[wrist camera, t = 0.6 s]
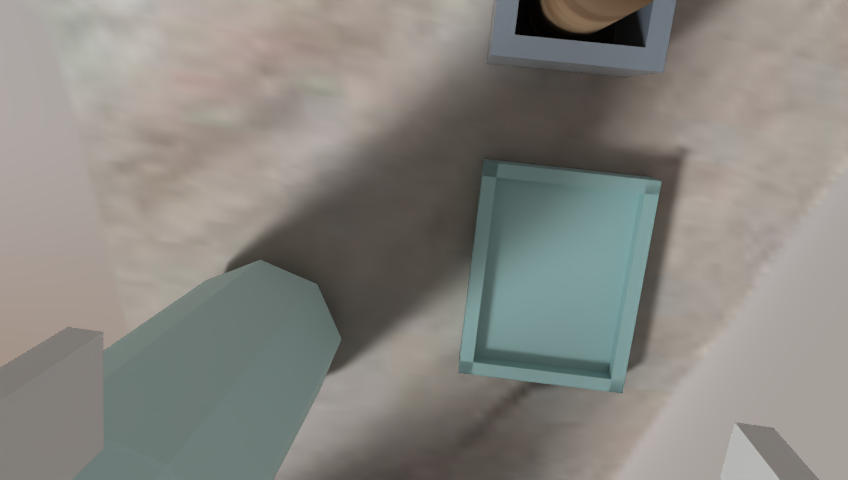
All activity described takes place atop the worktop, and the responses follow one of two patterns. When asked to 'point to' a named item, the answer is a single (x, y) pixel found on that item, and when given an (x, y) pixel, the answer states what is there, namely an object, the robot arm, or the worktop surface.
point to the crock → (586, 44)
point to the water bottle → (216, 380)
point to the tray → (556, 274)
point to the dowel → (578, 16)
